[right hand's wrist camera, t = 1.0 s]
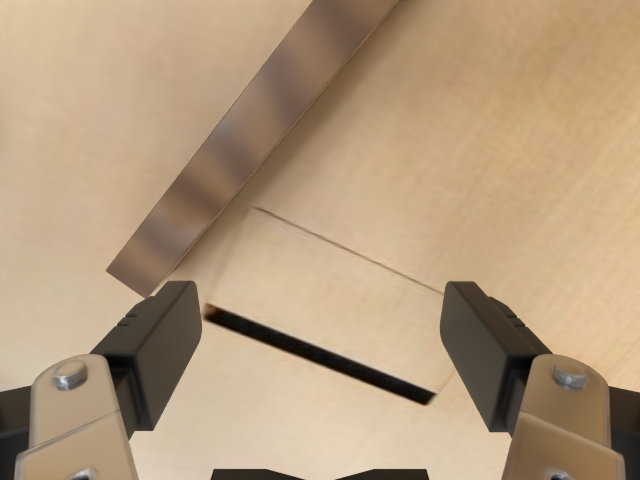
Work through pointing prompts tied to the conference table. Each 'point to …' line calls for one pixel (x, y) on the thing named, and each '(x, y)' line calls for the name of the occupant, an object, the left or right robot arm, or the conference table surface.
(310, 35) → the post
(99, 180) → the conference table surface
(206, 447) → the conference table surface
